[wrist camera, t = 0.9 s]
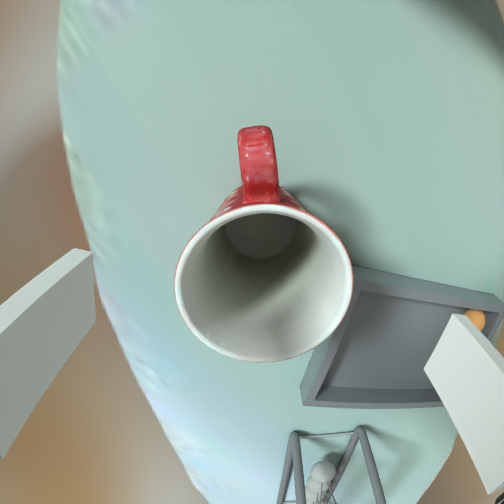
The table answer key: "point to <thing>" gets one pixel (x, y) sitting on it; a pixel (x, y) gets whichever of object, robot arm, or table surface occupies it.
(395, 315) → the tray
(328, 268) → the mug
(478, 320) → the ball
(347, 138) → the table surface
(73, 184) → the table surface
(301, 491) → the newton's cradle
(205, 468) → the table surface
